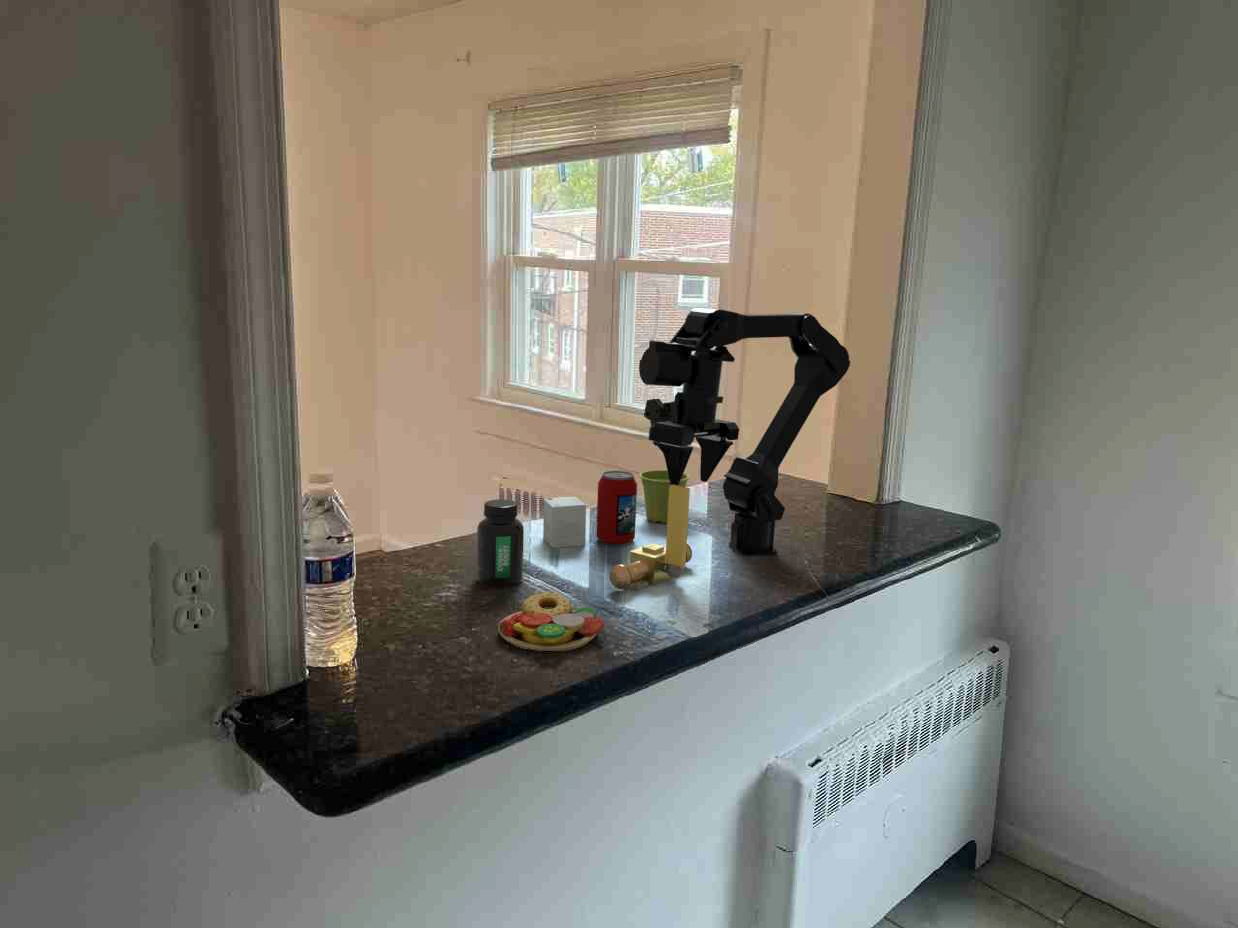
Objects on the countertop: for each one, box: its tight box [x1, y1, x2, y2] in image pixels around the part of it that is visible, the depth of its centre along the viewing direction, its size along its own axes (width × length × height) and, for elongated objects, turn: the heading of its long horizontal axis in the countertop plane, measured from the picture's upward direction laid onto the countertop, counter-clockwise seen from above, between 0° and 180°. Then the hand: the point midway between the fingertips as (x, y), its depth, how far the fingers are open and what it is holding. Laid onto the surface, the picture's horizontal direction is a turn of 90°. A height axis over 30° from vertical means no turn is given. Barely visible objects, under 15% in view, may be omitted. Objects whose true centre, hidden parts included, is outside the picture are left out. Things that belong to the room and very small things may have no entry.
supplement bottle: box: [476, 498, 525, 589], centre depth 134 cm, size 7×7×12 cm
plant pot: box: [639, 469, 690, 524], centre depth 171 cm, size 9×9×9 cm
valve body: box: [609, 543, 693, 592], centre depth 138 cm, size 18×5×5 cm, turn 142°
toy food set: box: [498, 592, 605, 652], centre depth 116 cm, size 13×13×3 cm
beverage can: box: [596, 470, 638, 546], centre depth 155 cm, size 7×7×12 cm
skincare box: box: [542, 496, 587, 549], centre depth 154 cm, size 6×6×7 cm
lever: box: [665, 485, 691, 579], centre depth 134 cm, size 2×3×14 cm
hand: (689, 484), depth 145 cm, fingers open, 9 cm apart
